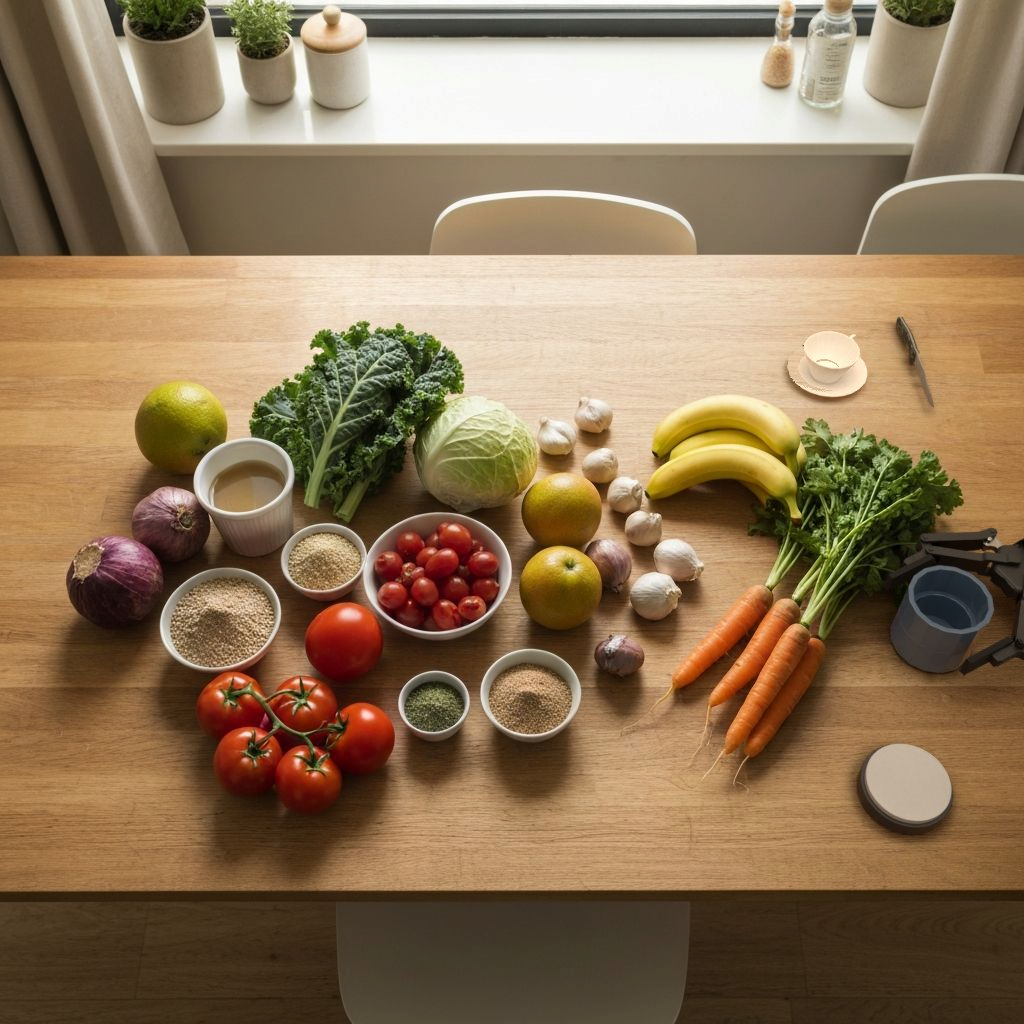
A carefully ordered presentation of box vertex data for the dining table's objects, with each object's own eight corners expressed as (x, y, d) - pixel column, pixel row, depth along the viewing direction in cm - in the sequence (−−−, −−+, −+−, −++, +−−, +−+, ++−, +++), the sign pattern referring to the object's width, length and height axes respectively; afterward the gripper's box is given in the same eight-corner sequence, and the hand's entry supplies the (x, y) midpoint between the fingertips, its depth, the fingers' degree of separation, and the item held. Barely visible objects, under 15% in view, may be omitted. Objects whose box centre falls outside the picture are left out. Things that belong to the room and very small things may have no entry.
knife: (935, 417, 158) (941, 403, 156) (926, 417, 158) (931, 403, 156) (901, 324, 171) (906, 309, 168) (893, 324, 171) (897, 310, 168)
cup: (979, 630, 135) (1003, 587, 128) (954, 688, 130) (978, 646, 123) (904, 597, 138) (924, 553, 131) (877, 652, 133) (897, 610, 126)
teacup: (878, 368, 165) (887, 342, 161) (843, 414, 159) (851, 389, 155) (807, 337, 169) (814, 311, 165) (770, 381, 164) (776, 356, 159)
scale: (959, 779, 123) (967, 767, 120) (930, 852, 118) (938, 841, 115) (875, 737, 126) (881, 725, 124) (843, 806, 121) (848, 795, 119)
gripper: (1123, 646, 130) (989, 721, 125) (978, 506, 145) (851, 567, 139) (1150, 612, 125) (1011, 688, 119) (996, 469, 139) (864, 532, 133)
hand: (924, 623), depth 129 cm, fingers open, 13 cm apart
